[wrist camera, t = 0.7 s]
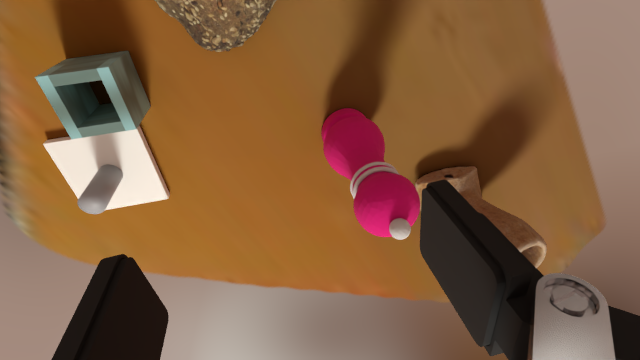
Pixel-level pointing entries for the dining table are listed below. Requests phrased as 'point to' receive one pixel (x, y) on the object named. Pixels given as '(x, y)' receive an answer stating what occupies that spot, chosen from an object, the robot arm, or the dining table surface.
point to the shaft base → (114, 153)
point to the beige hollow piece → (489, 210)
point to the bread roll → (218, 20)
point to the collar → (80, 101)
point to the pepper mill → (370, 174)
